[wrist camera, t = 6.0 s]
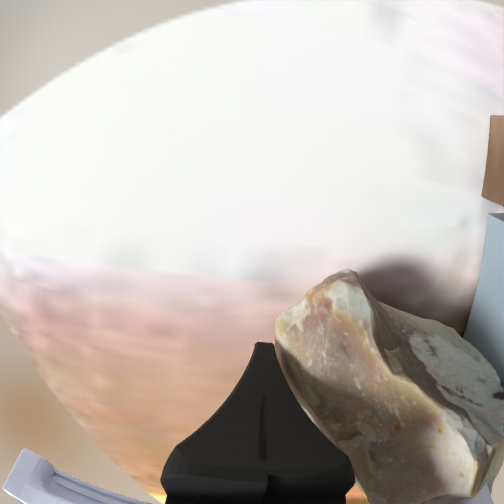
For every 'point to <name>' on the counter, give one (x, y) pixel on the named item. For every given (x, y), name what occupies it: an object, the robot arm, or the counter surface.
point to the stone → (394, 394)
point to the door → (490, 298)
